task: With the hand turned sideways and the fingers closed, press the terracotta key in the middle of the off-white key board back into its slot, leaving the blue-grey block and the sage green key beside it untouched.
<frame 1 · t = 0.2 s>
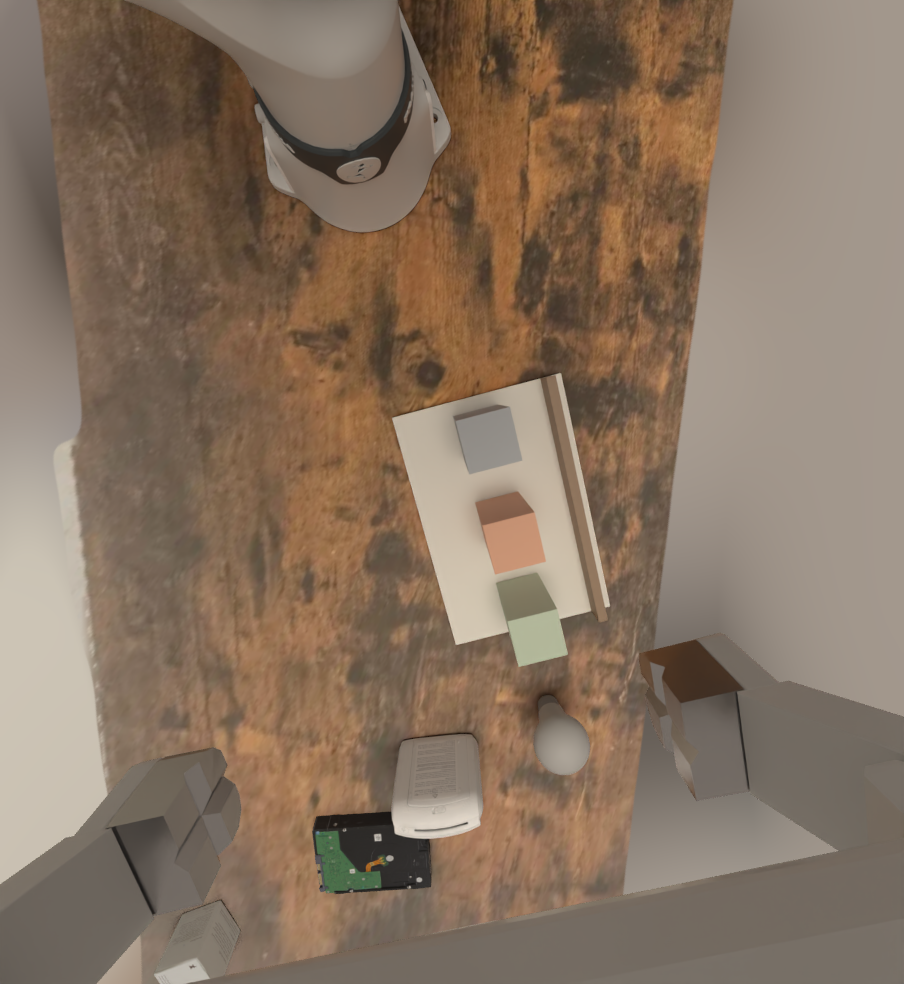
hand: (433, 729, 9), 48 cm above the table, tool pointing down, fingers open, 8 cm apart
disk drive: (375, 840, 67), on the table
lightbulb: (545, 699, 63), on the table
key board: (504, 513, 58), on the table
terracotta key: (507, 529, 51), point 6 cm above the table, slide at 0.0 cm
skincare box: (213, 920, 68), on the table
photo printer: (437, 746, 64), on the table
sage key: (528, 615, 53), point 6 cm above the table, slide at 0.0 cm
blue-grey block: (484, 436, 49), point 6 cm above the table, slide at 0.0 cm
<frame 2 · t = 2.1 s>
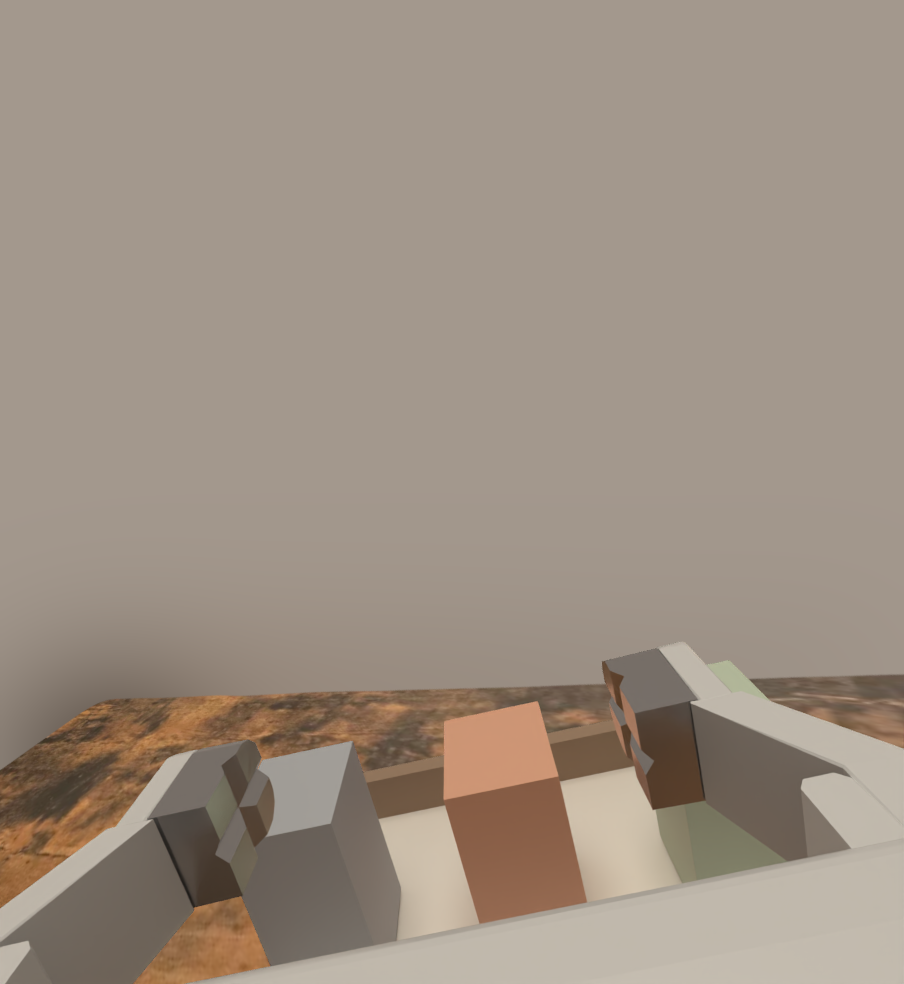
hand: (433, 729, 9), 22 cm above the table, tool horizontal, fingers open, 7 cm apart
key board: (540, 918, 26), on the table
terracotta key: (516, 830, 24), point 6 cm above the table, slide at 0.0 cm
sage key: (717, 789, 24), point 6 cm above the table, slide at 0.0 cm
blue-grey block: (322, 869, 25), point 6 cm above the table, slide at 0.0 cm
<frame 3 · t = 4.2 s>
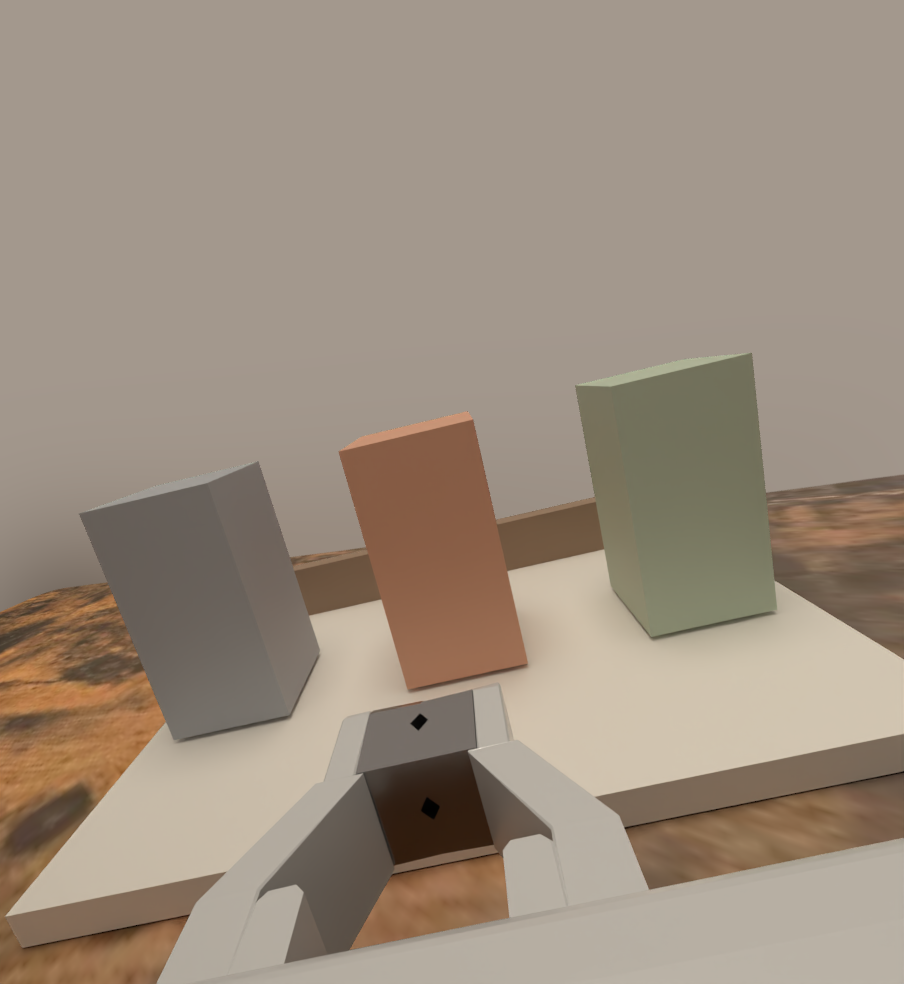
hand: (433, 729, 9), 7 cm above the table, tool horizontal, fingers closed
key board: (471, 665, 23), on the table
terracotta key: (439, 542, 21), point 6 cm above the table, slide at 0.0 cm
sage key: (669, 489, 21), point 6 cm above the table, slide at 0.0 cm
blue-grey block: (218, 592, 22), point 6 cm above the table, slide at 0.0 cm
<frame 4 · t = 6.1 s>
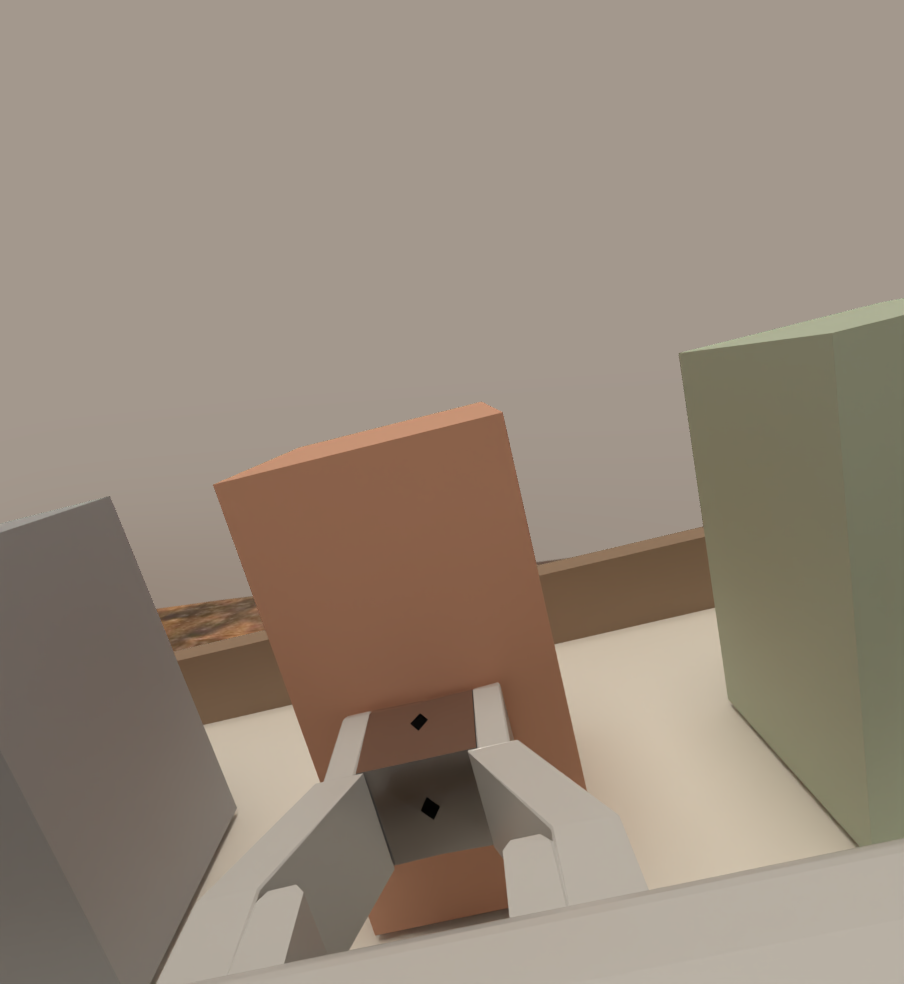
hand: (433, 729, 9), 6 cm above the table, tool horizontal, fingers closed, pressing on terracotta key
key board: (494, 854, 13), on the table
terracotta key: (434, 639, 12), point 6 cm above the table, slide at 0.5 cm, touching gripper
sage key: (877, 548, 11), point 6 cm above the table, slide at 0.0 cm
blue-grey block: (20, 746, 12), point 6 cm above the table, slide at 0.0 cm
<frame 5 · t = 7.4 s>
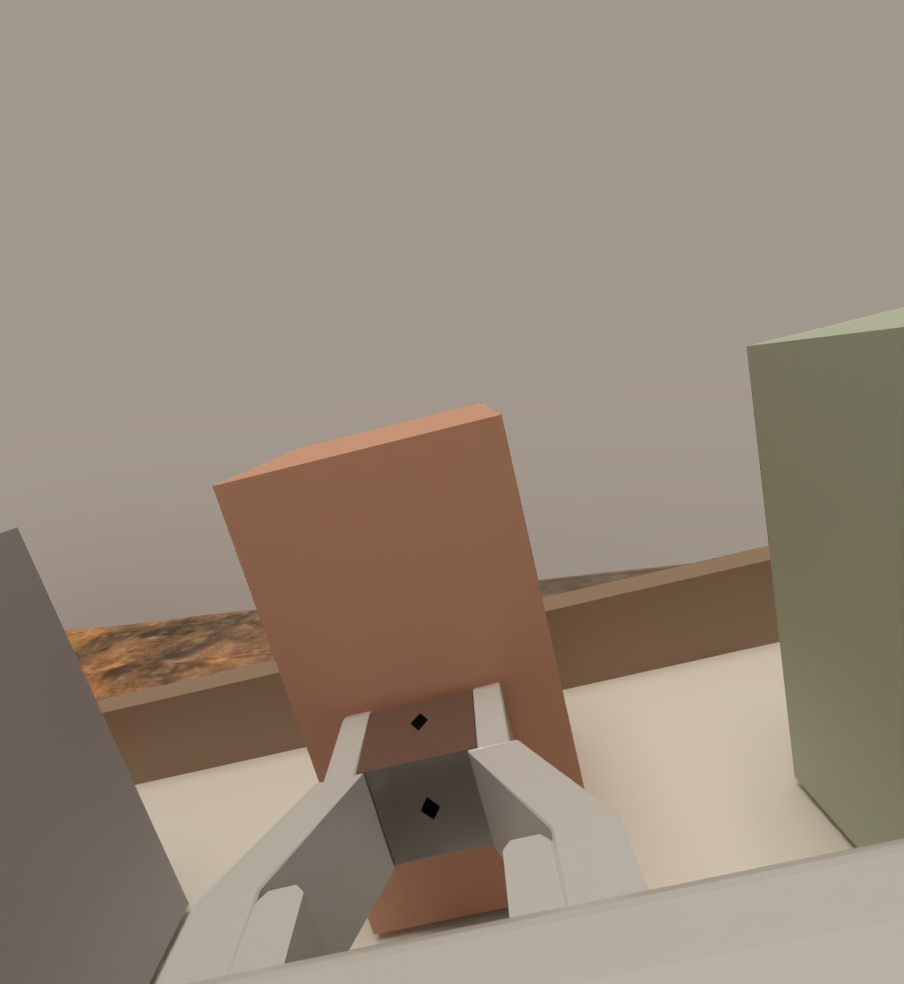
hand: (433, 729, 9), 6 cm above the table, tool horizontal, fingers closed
key board: (505, 983, 10), on the table
terracotta key: (433, 639, 12), point 6 cm above the table, slide at 3.4 cm
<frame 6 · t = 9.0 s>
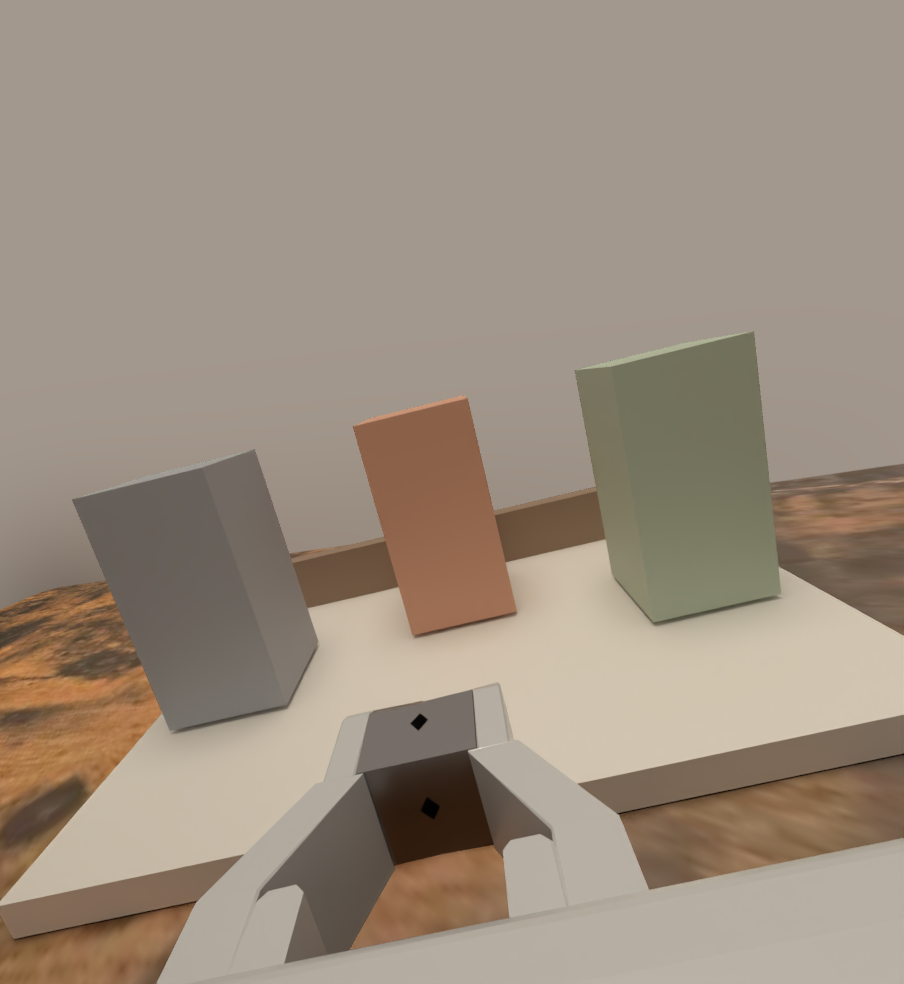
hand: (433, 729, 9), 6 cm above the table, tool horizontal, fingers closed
key board: (471, 654, 23), on the table
terracotta key: (439, 509, 24), point 6 cm above the table, slide at 3.4 cm
sage key: (670, 473, 21), point 6 cm above the table, slide at 0.0 cm
blue-grey block: (214, 581, 21), point 6 cm above the table, slide at 0.0 cm
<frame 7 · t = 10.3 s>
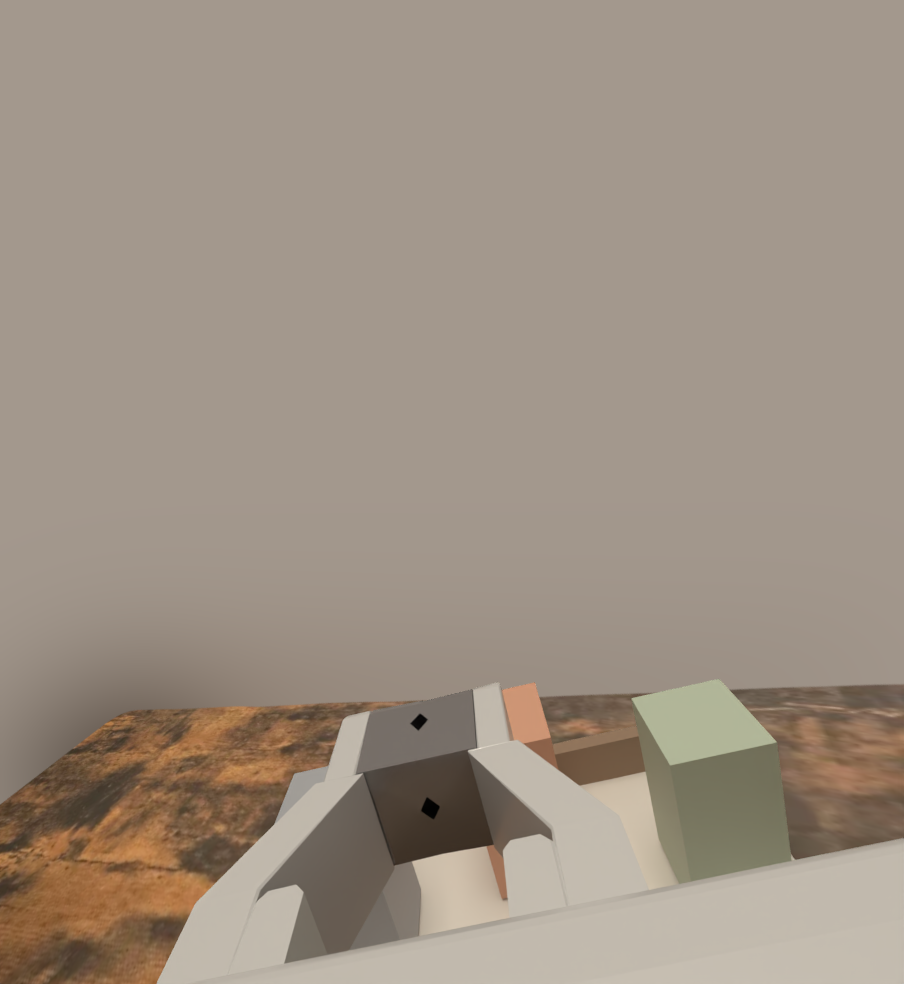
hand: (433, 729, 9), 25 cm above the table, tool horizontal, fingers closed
key board: (549, 915, 29), on the table
terracotta key: (518, 786, 30), point 6 cm above the table, slide at 3.4 cm
sage key: (709, 797, 26), point 6 cm above the table, slide at 0.0 cm
blue-grey block: (351, 873, 27), point 6 cm above the table, slide at 0.0 cm
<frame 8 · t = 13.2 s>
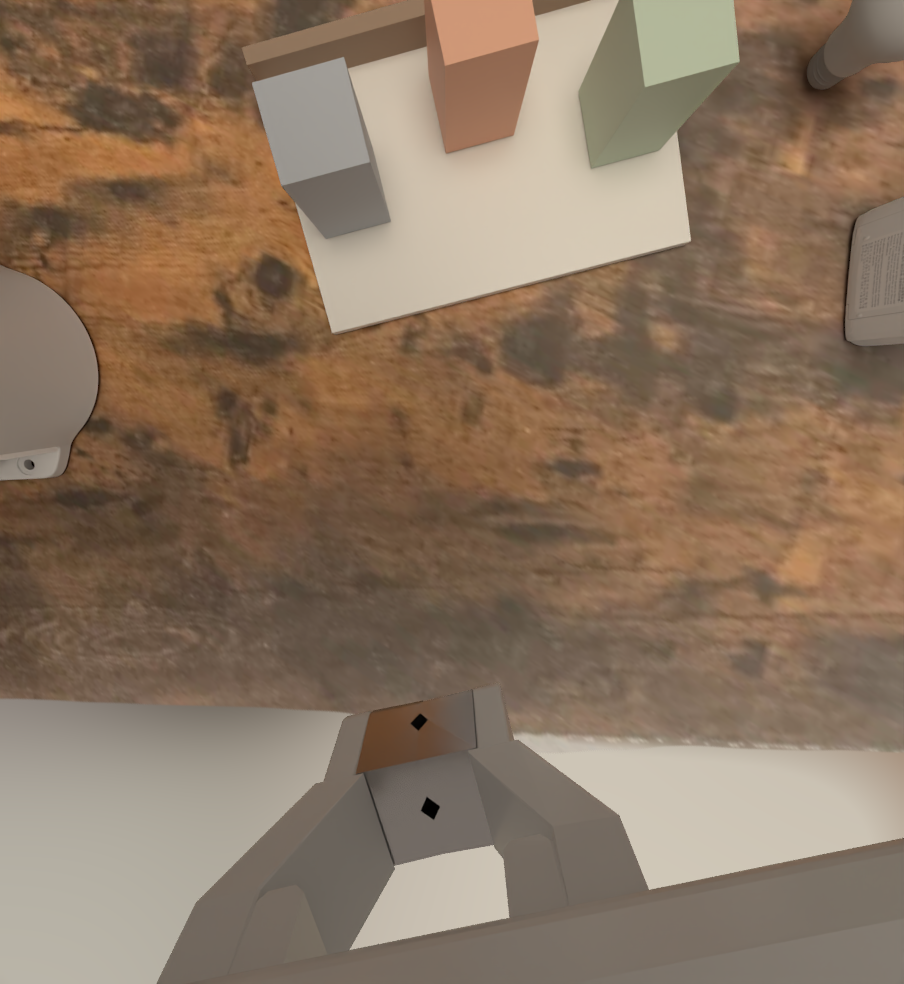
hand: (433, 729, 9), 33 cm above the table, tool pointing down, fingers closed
lightbulb: (814, 78, 36), on the table
key board: (479, 159, 37), on the table
terracotta key: (475, 60, 30), point 6 cm above the table, slide at 3.4 cm
photo printer: (867, 281, 39), on the table
sage key: (647, 78, 30), point 6 cm above the table, slide at 0.0 cm
blue-grey block: (333, 164, 31), point 6 cm above the table, slide at 0.0 cm
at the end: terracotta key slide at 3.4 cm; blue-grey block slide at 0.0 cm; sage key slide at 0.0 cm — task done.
